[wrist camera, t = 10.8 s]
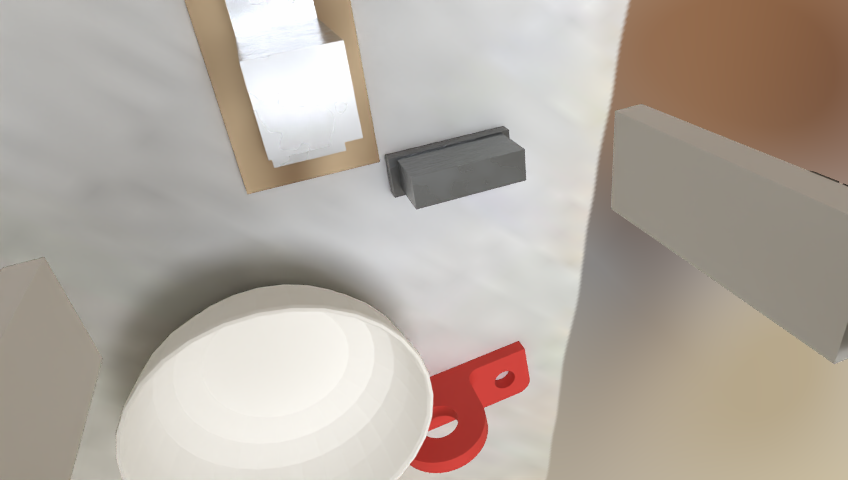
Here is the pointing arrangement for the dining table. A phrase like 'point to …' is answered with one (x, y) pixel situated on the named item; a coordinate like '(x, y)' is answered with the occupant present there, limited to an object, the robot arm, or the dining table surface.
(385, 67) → the dining table surface
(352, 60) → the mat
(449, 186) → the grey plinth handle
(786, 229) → the robot arm
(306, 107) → the bent metal sheet
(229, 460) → the bowl
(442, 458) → the bracket
